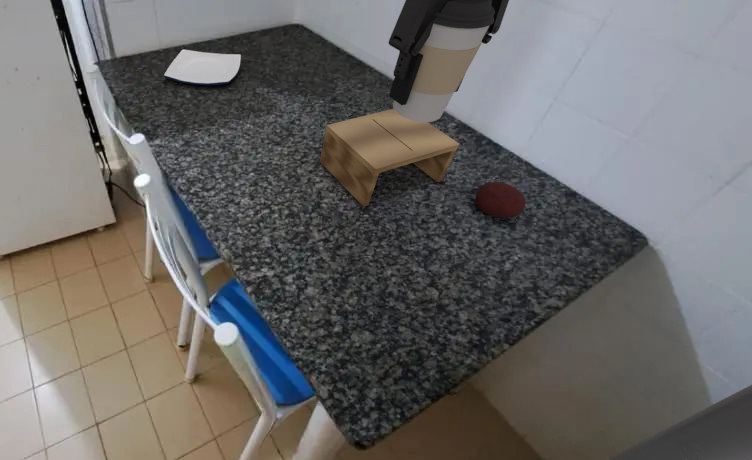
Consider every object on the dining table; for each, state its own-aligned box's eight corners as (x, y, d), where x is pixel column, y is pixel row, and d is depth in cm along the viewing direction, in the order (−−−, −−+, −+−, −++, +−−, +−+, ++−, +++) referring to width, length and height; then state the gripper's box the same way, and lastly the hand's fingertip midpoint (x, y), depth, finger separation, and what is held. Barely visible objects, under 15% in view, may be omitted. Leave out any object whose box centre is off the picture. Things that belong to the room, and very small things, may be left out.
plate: (160, 85, 110) (159, 76, 108) (181, 56, 124) (180, 47, 122) (231, 92, 108) (231, 83, 106) (244, 62, 122) (244, 53, 120)
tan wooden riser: (441, 181, 82) (460, 143, 75) (363, 207, 76) (376, 168, 69) (391, 141, 92) (404, 105, 85) (319, 161, 86) (326, 124, 79)
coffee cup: (441, 95, 59) (489, -20, 48) (458, 128, 52) (517, 5, 42) (380, 92, 59) (413, -23, 48) (390, 124, 53) (430, 1, 42)
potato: (490, 230, 72) (507, 206, 68) (460, 201, 78) (474, 177, 73) (522, 222, 74) (540, 198, 69) (490, 194, 79) (505, 170, 75)
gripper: (546, -133, 43) (460, 69, 60) (393, -127, 37) (344, 96, 53) (615, -127, 38) (500, 91, 55) (452, -118, 32) (378, 123, 49)
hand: (423, 93), depth 54 cm, fingers closed on coffee cup, 8 cm apart
